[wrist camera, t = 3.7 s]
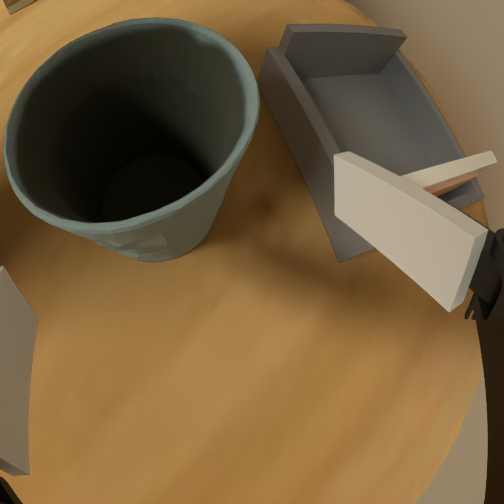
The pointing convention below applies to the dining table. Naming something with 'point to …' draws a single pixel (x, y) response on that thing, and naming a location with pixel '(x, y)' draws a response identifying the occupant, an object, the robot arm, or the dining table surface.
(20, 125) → the grey-green cup
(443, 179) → the pusher
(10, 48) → the dining table surface
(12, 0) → the skincare box
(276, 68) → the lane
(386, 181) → the robot arm
